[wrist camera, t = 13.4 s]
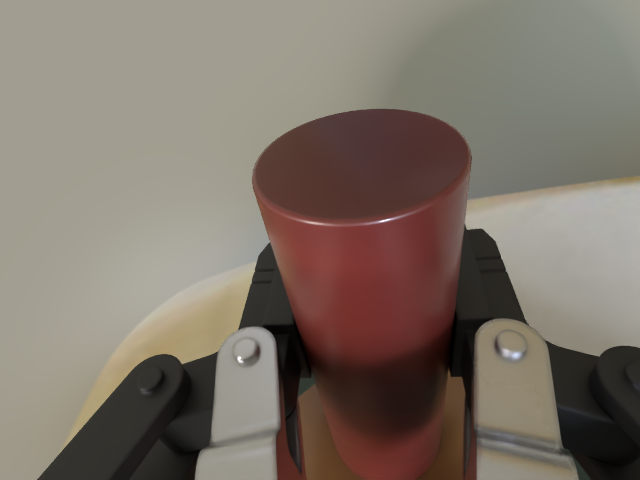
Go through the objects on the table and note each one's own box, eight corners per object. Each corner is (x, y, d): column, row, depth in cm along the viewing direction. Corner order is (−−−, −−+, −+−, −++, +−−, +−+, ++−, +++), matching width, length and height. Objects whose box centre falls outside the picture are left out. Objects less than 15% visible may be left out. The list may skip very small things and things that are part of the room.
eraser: (431, 319, 18) (444, 32, 10) (551, 408, 14) (717, 67, 6) (217, 501, 14) (-41, 248, 6) (311, 691, 10) (-35, 691, 2)
